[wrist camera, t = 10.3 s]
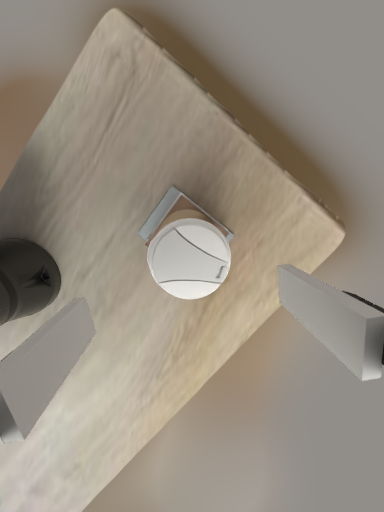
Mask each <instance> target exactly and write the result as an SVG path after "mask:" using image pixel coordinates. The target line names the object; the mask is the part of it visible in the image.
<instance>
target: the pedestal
mask: <svg viewBox="0 0 384 512" xmlns="http://www.w3.org/2000/svg"><path fill="white" fill-rule="evenodd" d="M186 218H195V219H200V220H204V221H206V222H209V223H211V224H212V225H214V226H215V227H216V228H218V229H219V230H220V231H221V232H222V234H223V235H224V236H225V238H226V237H227V235H228V234H229V233H228V232H227V231H226V230H225V229H223V228H222V227H221V226H220V225H218V224H217V223H216V222H215V221H213V220H212V219H211V218H210V217H208V216H207V215H206V214H205V213H203V212H202V211H201V210H200V209H198V208H197V207H196V206H195V205H193V204H192V203H191V202H190V201H188V200H187V199H186V198H185V197H183V196H182V195H181V196H180V197H179V199H178V200H177V202H176V203H175V204H174V206H173V207H172V208H171V210H170V211H169V213H168V214H167V215H166V217H165V218H164V219H163V221H162V222H161V224H160V225H159V226H158V228H157V229H156V230H155V232H154V233H153V235H152V236H151V237H150V239H149V240H148V241H147V243H146V244H145V245H146V246H148V247H149V245H150V242H151V241H152V240H153V238H154V237H155V236H156V235H157V234H158V232H159V231H160V230H161V229H163V228H164V227H165V226H166V225H168V224H170V223H172V222H174V221H176V220H180V219H186Z"/></svg>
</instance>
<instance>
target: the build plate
mask: <svg viewBox="0 0 384 512" xmlns="http://www.w3.org/2000/svg"><path fill="white" fill-rule="evenodd" d="M181 195H182V196H183V197H185V198H186V199H187V200H188V201H190V202H191V203H192V204H193V205H195V206H196V207H197V208H198V209H200V210H201V211H202V212H203V213H205V214H206V215H207V216H208V217H210V218H211V219H212V220H213V221H215V222H216V223H217V224H218V225H220V226H221V227H222V228H223V229H225V230H226V231H227V232H228V233H229V234H228V235H227V237H226V240H227V242H228V243H229V242H230V241H231V240H232V239H233V237H234V235H233V234H232V233H231V232H229V231H228V229H227V228H225V227H224V226H223V225H222V224H220V223H219V222H218V221H217V220H215V219H214V218H213V217H212V216H210V215H209V214H208V213H207V212H205V211H204V210H203V209H202V208H200V207H199V206H198V205H197V204H195V203H194V202H193V201H192V200H190V199H189V198H188V197H187V196H185V195H184V194H183V193H182V192H180V191H178V190H177V189H176V188H175V187H173V186H171V187H170V189H169V190H168V192H167V193H166V194H165V196H164V197H163V199H162V200H161V202H160V203H159V204H158V206H157V207H156V209H155V210H154V211H153V213H152V214H151V216H150V217H149V218H148V220H147V221H146V223H145V224H144V225H143V227H142V228H141V230H140V231H139V232H138V235H139V236H141V237H142V238H143V239H145V241H148V240H149V239H150V237H151V236H152V235H153V233H154V232H155V230H156V229H157V228H158V226H159V225H160V224H161V222H162V221H163V219H164V218H165V217H166V215H167V214H168V213H169V211H170V210H171V208H172V207H173V206H174V204H175V203H176V202H177V200H178V199H179V197H180V196H181Z"/></svg>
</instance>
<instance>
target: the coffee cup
mask: <svg viewBox="0 0 384 512" xmlns="http://www.w3.org/2000/svg"><path fill="white" fill-rule="evenodd" d="M147 262H148V265H149V268H150V271H151V274H152V276H153V278H154V279H155V281H156V282H157V284H158V285H159V286H160V287H161V288H162V289H164V290H165V291H166V292H168V293H169V294H171V295H173V296H176V297H178V298H183V299H197V298H201V297H204V296H207V295H209V294H210V293H212V292H214V291H215V290H216V289H217V288H218V287H219V286H220V285H221V283H222V282H223V281H224V279H225V278H226V276H227V274H228V272H229V269H230V264H231V251H230V247H229V244H228V242H227V240H226V238H225V236H224V235H223V234H222V232H221V231H220V230H219V229H218V228H216V227H215V226H214V225H212V224H211V223H209V222H206V221H204V220H200V219H195V218H186V219H180V220H176V221H174V222H172V223H170V224H168V225H166V226H165V227H164V228H163V229H161V230H160V231H159V232H158V234H157V235H156V236H155V237H154V238H153V240H152V241H151V242H150V245H149V247H148V252H147Z"/></svg>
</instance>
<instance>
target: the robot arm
mask: <svg viewBox="0 0 384 512" xmlns="http://www.w3.org/2000/svg"><path fill="white" fill-rule="evenodd" d="M278 277H279V298H280V303H281V304H282V305H283V306H284V307H285V308H286V309H288V311H289V312H290V313H291V314H293V315H294V316H295V317H296V318H297V319H298V320H299V321H300V322H301V323H302V324H303V325H304V326H305V327H306V328H307V329H308V330H309V331H310V332H311V333H312V334H313V335H314V336H316V337H317V338H318V339H319V340H320V341H321V342H322V343H323V344H324V345H325V346H326V347H327V348H328V349H329V350H330V351H331V352H332V353H333V354H334V355H335V356H336V357H337V358H338V359H340V360H341V361H342V362H343V363H344V364H345V365H346V366H347V367H348V368H349V369H350V370H351V371H352V372H353V373H354V374H355V375H356V376H357V377H358V378H360V379H361V381H364V380H370V379H376V378H381V373H382V364H383V365H384V309H383V308H381V307H379V306H377V305H373V303H371V302H369V301H367V300H365V299H363V298H361V297H359V296H357V295H355V294H352V293H349V292H345V291H340V290H338V289H336V288H334V287H332V286H331V285H329V284H327V283H325V282H323V281H321V280H319V279H317V278H315V277H313V276H311V275H310V274H308V273H306V272H304V271H302V270H300V269H298V268H296V267H294V266H292V265H290V264H285V265H279V266H278ZM60 284H61V279H60V273H59V270H58V267H57V265H56V263H55V262H54V260H53V259H52V257H51V256H50V255H49V254H48V253H47V252H46V251H45V250H43V249H42V248H41V247H39V246H37V245H36V244H34V243H31V242H29V241H26V240H21V239H5V240H0V326H1V325H2V324H4V323H6V322H7V321H11V320H15V319H18V318H21V317H25V316H29V315H32V314H35V313H37V312H39V311H41V310H42V309H44V308H45V307H46V306H48V305H49V304H50V303H51V302H52V301H53V300H54V299H55V298H56V296H57V294H58V292H59V289H60ZM95 334H96V330H95V327H94V324H93V320H92V317H91V314H90V311H89V307H88V304H87V301H86V298H85V297H82V298H76V299H73V300H72V301H71V302H70V303H68V304H67V305H66V306H65V307H64V308H63V309H61V310H60V311H59V312H58V313H57V314H56V315H54V316H53V317H52V318H51V319H50V320H49V321H47V322H46V323H45V324H44V325H43V326H42V327H40V328H39V329H38V330H37V331H36V332H35V333H34V334H32V335H31V336H30V337H29V338H28V339H27V340H25V341H24V342H23V343H22V344H21V345H20V346H18V347H17V348H16V349H15V350H14V351H12V352H11V353H10V354H8V355H7V356H6V357H5V358H4V359H3V360H1V362H0V437H1V439H2V441H3V443H4V444H6V443H11V442H17V441H23V440H25V438H26V437H27V436H28V434H29V433H30V431H31V430H32V428H33V427H34V425H35V424H36V422H37V421H38V419H39V418H40V416H41V415H42V413H43V412H44V410H45V409H46V407H47V406H48V404H49V403H50V401H51V400H52V398H53V397H54V395H55V394H56V392H57V391H58V389H59V388H60V386H61V385H62V383H63V382H64V380H65V379H66V377H67V376H68V374H69V373H70V371H71V370H72V368H73V367H74V365H75V364H76V362H77V361H78V359H79V358H80V356H81V355H82V353H83V352H84V350H85V349H86V347H87V346H88V344H89V343H90V341H91V340H92V338H93V337H94V335H95Z"/></svg>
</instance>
